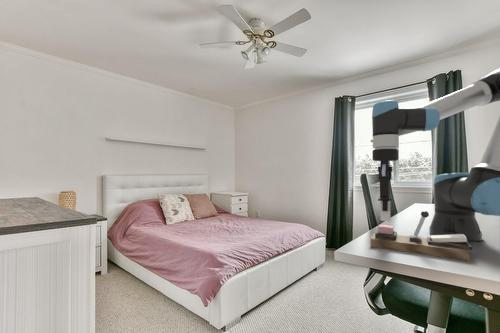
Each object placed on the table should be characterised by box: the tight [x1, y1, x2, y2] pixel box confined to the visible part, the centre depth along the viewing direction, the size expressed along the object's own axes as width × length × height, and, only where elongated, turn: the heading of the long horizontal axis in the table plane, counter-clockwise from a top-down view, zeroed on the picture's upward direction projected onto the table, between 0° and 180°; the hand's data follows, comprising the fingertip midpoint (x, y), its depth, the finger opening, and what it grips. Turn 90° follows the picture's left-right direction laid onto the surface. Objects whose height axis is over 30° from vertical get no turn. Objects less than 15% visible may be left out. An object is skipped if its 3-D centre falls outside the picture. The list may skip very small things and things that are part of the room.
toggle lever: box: [413, 210, 430, 237], centre depth 77 cm, size 2×2×8 cm
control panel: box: [370, 229, 473, 262], centre depth 78 cm, size 25×10×4 cm, turn 57°
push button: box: [378, 223, 394, 234], centre depth 82 cm, size 4×4×2 cm
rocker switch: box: [430, 234, 468, 242], centre depth 73 cm, size 8×4×1 cm, turn 57°
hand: (385, 220), depth 82 cm, fingers closed
